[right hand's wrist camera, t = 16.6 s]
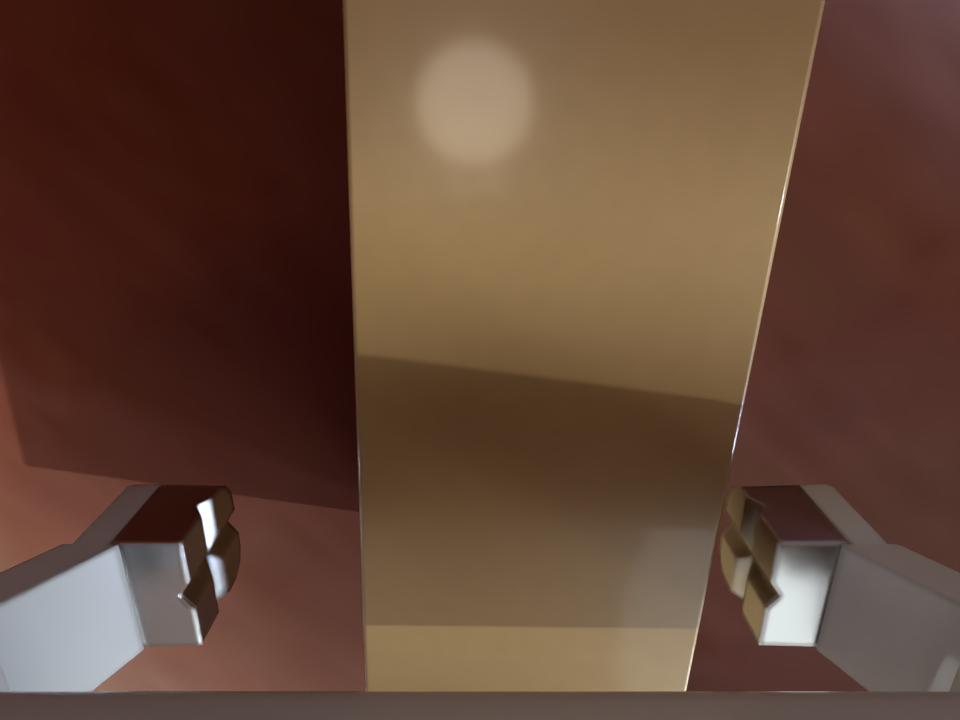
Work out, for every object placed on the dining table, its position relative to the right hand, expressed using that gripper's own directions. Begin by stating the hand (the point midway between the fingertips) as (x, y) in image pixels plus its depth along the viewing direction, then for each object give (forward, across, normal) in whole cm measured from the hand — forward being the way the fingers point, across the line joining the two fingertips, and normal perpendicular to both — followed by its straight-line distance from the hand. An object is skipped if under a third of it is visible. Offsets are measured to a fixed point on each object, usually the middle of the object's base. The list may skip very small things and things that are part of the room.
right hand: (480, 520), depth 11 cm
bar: (+7, -1, -6) cm, 10 cm away
